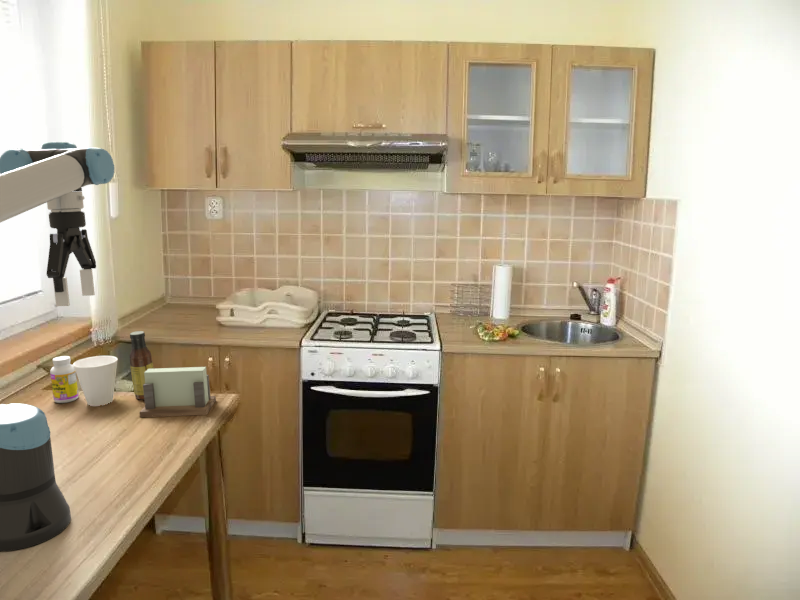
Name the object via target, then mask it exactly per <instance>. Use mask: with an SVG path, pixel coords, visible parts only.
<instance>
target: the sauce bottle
mask: <svg viewBox="0 0 800 600" xmlns="http://www.w3.org/2000/svg"><path fill="white" fill-rule="evenodd" d="M145 337H146V333H145V331H142V330H139V331H138V330H137V331H132V332H131V333H129V339H130V342H131V351H130V354H129V367H130V373H131V379H132V380H131V381H132V387H133V393H134V395H135V399H137V400H142V401H143V400H144V391H143V385H144V384H145V376H144V372H145V371H146V370H147V369H154V364H153V363H154V362H153V359H152V353H151V351H150V350H149V348H148V347H147V345H146V339H145ZM144 401H145V400H144Z"/></svg>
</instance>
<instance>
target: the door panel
mask: <svg viewBox="0 0 800 600" xmlns="http://www.w3.org/2000/svg"><path fill="white" fill-rule="evenodd" d="M207 375H208V374H207V366H191V367H190V366H188V367H163V368H162V367H160V368H155V367H154V368H153V369H147V370H146V371H145V372H144V376H145V384H152V383H153V386H154V396H155V406H156V407H161V406H189V405H195V397H194V386H193V383H194V382H203V385H204V397H205V405H206V404H207V402H208V401H209V397H208V385H207Z"/></svg>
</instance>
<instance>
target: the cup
mask: <svg viewBox="0 0 800 600" xmlns="http://www.w3.org/2000/svg"><path fill="white" fill-rule="evenodd" d="M118 361H119V359H118V357H117V356H114V355H96V356H95V355H94V356H89V357H84V358H80V359H78V360H76V361H74V362H73V364H72V365H73V366H74V369H75V371H76V378H77V381H78V382H79V385H80V388H81V390H82V393H83V396H84V398H85V401H86V403H87V406H89V405H90V407H100V405H102V406H106V405H108V403H109V404H110V402H111V403H112V402H113V401H114V395H115V385H116V376H117V367H118ZM105 404H106V405H105Z"/></svg>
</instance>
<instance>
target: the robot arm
mask: <svg viewBox="0 0 800 600" xmlns="http://www.w3.org/2000/svg"><path fill="white" fill-rule="evenodd" d="M114 175H115V165H114V160H113V157H112V155H111V154H110V153H109V152H108V151H107V150H106V149H104V148H101V147H91V146H89V147H85V148H84V147H79V148H78V146H77V145H76V144H75V143H74V142H67V141H65V142H62V141H61V142H60V141H49V142H47V141H45V142H42V143H41V145H40V148H39V149H24V148H16V149H14V148H13V149H7V150H6V151H4V152H3V153H2V154H1V155H0V223H3V222H5V221H7V220H9V219H12V218H14V217H16V216H19V215H21V214H23V213H25V212H28V211H30V210H33V209H35V208H36V207H40V206H41V205H44V204H47V209H48V210H50V212H49V213H48V221H49V227H50V228H51V229H56V233H50V234H49V249H48V258H47V267H46V276H47V278H48V279H52V282H53V290H54V298H55V306H56V307H69V306H70V305H71V304H70V294H69V286H68V280H67V279H68V278H67V276H66V277H65V275H66V270H67V267H68V263H69V259H70V255H71V254H74V257H75V259H76V261H77V262H78V264H79V266H80V269H79V276H80V277H79V278H80V283H81V284H80V285H81V293H82V294H81V295H82V296H83V297H84V296H85V297H86V296H87V297H88V296H89V297H90V296H95V295H96V291H95V285H94V275H93V269H97V261H96V258H95V255H94V252H93V249H92V246H91V244H90V239H89V236H88V231H87V229H85V227H86V225H87V223H86V222H87V221H86V214H85V212H84V211H83V209H84V207H85V205H84V200H85V196H84V195H83V188H84V187H87V186H89V185H95V186H98V185H106V184H108V183H110V182H111V181H112V180H113V178H114ZM80 228H81V229H80ZM83 228H84V229H83ZM54 465H55V464H54V457H53V448H52V438H51V429H50V426H49V423H48V419H47V415H46V414H45V412H44V411H43V410H42V409H41V408H40V407H37V406H34V405H32V404H29V403H28V404H27V403H19V402H18V403H15V402H13V403H11V402H10V403H9V404H5V403H1V404H0V552H5V551H6V552H7V551H17V550H21V549H26V548H30V547H33V546H37V545H38V544H41V543H44V542H46V541H49V540H50V539H52V538H54V537H55V536H57V535H59V534H60V533H62V532H63V531H64V530H65V529H66V528H67V527H68V526H69V525H70V523H71V520H72V516H71V508H70V505H69V503H68V501H67V500H66V498H65V496H64V494H63V493H62V490H61V489H60V487H59V486H58V483H57V482H56V474H55V466H54Z"/></svg>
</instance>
